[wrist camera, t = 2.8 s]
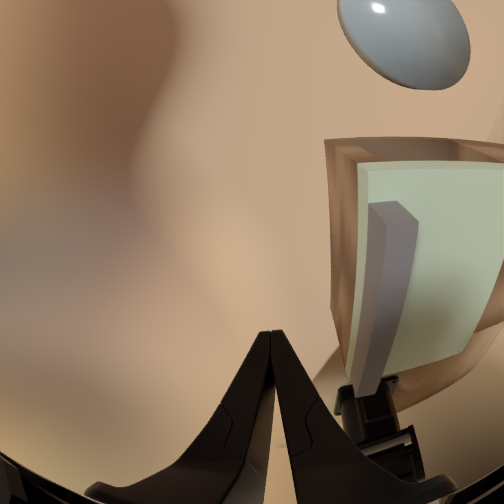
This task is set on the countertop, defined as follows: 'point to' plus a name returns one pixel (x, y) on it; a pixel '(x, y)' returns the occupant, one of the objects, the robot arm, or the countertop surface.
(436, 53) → the grey dome cap
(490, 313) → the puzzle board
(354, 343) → the cover
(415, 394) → the countertop surface
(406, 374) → the countertop surface
